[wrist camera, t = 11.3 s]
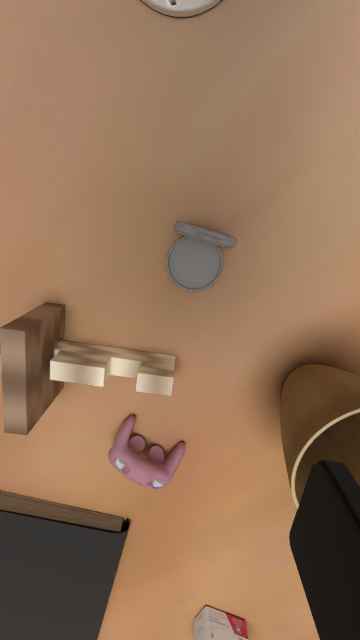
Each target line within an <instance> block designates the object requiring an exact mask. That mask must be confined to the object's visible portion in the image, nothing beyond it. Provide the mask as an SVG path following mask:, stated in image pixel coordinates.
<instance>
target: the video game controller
mask: <svg viewBox="0 0 360 640" xmlns="http://www.w3.org/2000/svg"><path fill="white" fill-rule="evenodd" d="M134 422H135V417H134V415H131V416H129V417H128V418H127V419H126V421H125V422H124V423H123V425H122V427H121V428H120V430H119V432H118V434H117V436H116V438H115V441H114V443H113V445H112V447H111V449H110V451H109V454H108V458H109V461H110V463H111V464H112V465H113V466H114V467H115V468H117V469H118V471H119V472H120V473H121V474H122V475H124V476H125V477H126V478H128V479H129V480H131V481H133V482H134V483H137V484H139V485H142V486H146V487H152V488H155V489H159V488H162V487H164V486H166V485H167V484H168V483H169V482H170V480H171V479H172V477H173V476H174V474H175V472H176V470H177V468H178V466H179V464H180V461H181V459H182V457H183V454H184V450H185V444H184V443H183V442H180V443H179V444H177V445H176V447H175V448H174V449H173V450H172V452H171V453H170V454H169V456H168V458H167V459H166V460H164V453H163V450H162V448H161V447H159V446H153V447H151V448H150V449H149V450H148V451H147V459H145V458H143V457H141V456H140V455H138V453H140V452H141V451H142V450H143V449H144V447H145V441H144V440H143V438H142V437H140V436H134V437H132V438H131V439H130V440H129V436H130V434H131V431H132V429H133V426H134ZM128 440H129V441H128Z"/></svg>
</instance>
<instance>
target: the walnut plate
mask: <svg viewBox="0 0 360 640" xmlns="http://www.w3.org/2000/svg"><path fill="white" fill-rule="evenodd" d="M64 321H65V305H61V304H54V303H47V302H46V303H44V304H42V305H40V306H39V307H37V308H35V309H33V310H31V311H30V312H28V313H26V314H24V315H22V316H21V317H19V318H17V319H15V320H13V321H12V322H10V323H8V324H6V325H4V326H3V327H1V328H0V343H1V365H2V386H3V408H4V430H5V433H13V434H21V435H28V433H29V432H30V431H31V429H32V428H33V427H34V425H35V424H36V423H37V421H38V420H39V419H40V417H41V416H42V415H43V414H44V412H45V411H46V410H47V408H48V407H49V406H50V404H51V403H52V402H53V400H54V399H55V398H56V396H57V395H58V394H59V392H60V391H61V390H62V389H63V381H57V380H50V360H51V359H52V358H53V357H54V344H55V343H56V342H57V341H58V340H59V339H60V338H61V337H62V336H64Z"/></svg>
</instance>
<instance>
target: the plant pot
mask: <svg viewBox="0 0 360 640" xmlns="http://www.w3.org/2000/svg"><path fill="white" fill-rule="evenodd" d="M280 417H281V435H282V444H283V451H284V457H285V462H286V468H287V473H288V478H289V483H290V488H291V492H292V496H293V500H294V503H295V505H296V507H297V509H298V506H299V503H300V500H301V497H302V494H303V491H304V488H305V485H306V482H307V479H308V476H309V473H310V470H311V468H312V465H313V464H317V463H318V461H319V460H321V459H325V460H332V461H340V462H343V463H344V464H345V465H346V466H347V468H348V469H349V471H350V472H351V474H352V476H353V477H354V479H355V480H356V482H357V483H358V485H359V486H360V375H357V374H354V373H351V372H348V371H345V370H341V369H338V368H334V367H330V366H325V365H319V364H308V365H304V366H301V367H299V368H297V369H295V370H294V371H292V372H291V373H290V374H289V376H288V377H287V378H286V380H285V382H284V385H283V390H282V396H281V412H280Z"/></svg>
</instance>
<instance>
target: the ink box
mask: <svg viewBox="0 0 360 640" xmlns="http://www.w3.org/2000/svg"><path fill="white" fill-rule="evenodd" d="M194 640H248V636H247V628H246V621H244V620H242V619H239V618H237V617H234V616H232V615H229V614H226V613H224V612H221V611H219V610H216V609H214V608H211V607H208V606H206V607H204V608H203V610H202V611H201V612H200V613H199V614H198V616H197V617H196V618H195V619H194Z"/></svg>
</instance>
